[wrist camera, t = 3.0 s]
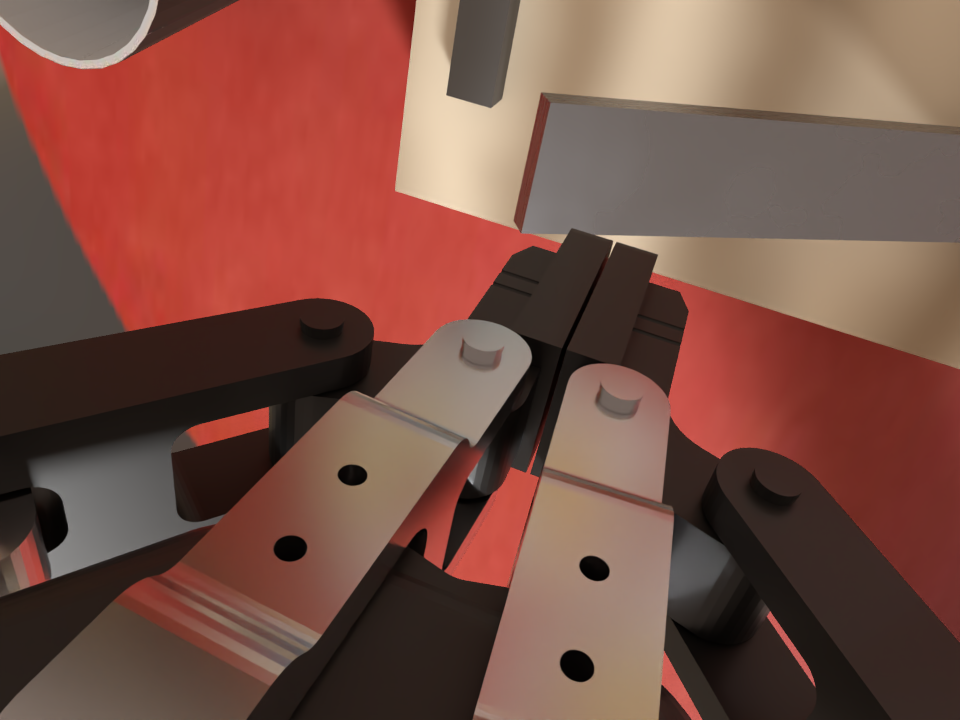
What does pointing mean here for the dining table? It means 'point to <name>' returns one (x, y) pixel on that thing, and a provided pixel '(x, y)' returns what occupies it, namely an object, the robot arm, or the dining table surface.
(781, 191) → the strap
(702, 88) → the tea crate
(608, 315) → the robot arm
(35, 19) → the coffee mug
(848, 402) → the dining table surface
